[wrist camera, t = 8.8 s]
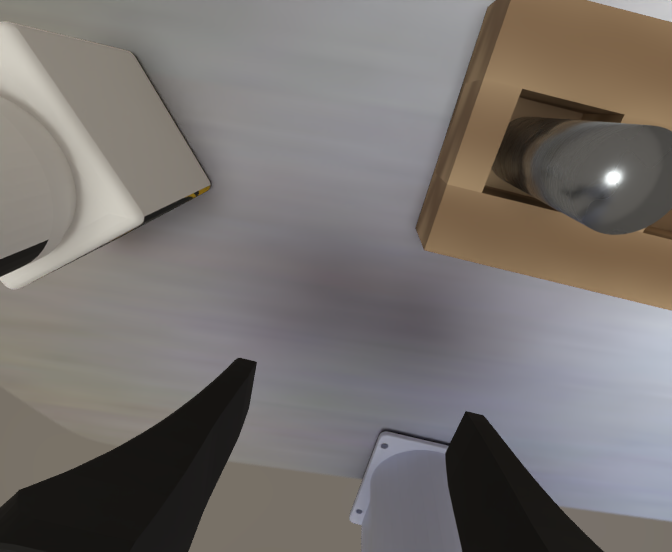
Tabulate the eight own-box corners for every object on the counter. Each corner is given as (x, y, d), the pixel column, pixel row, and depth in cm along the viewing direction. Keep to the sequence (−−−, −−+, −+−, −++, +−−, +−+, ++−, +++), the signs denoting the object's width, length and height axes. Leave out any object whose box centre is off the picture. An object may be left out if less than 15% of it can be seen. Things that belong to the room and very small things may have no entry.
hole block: (667, 289, 21) (722, 322, 17) (415, 227, 20) (424, 250, 17) (800, 87, 16) (904, 82, 13) (487, 7, 16) (516, -18, 13)
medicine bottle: (114, 240, 22) (-138, 370, 11) (27, 120, 20) (-404, 134, 9) (215, 186, 20) (34, 278, 9) (133, 48, 18) (-237, -47, 7)
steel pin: (544, 186, 18) (662, 239, 11) (482, 180, 19) (558, 229, 11) (565, 119, 17) (711, 130, 10) (498, 113, 17) (594, 120, 10)
